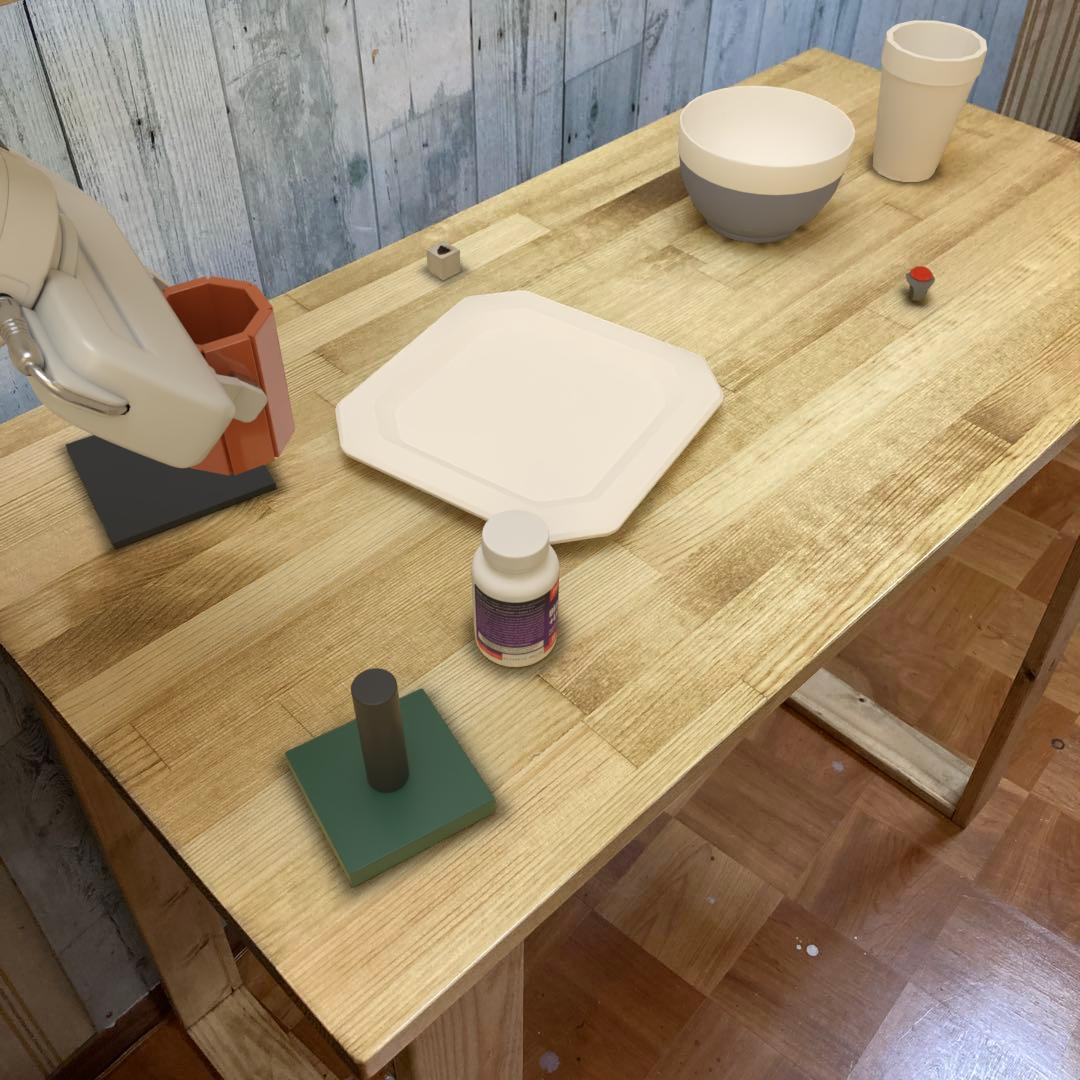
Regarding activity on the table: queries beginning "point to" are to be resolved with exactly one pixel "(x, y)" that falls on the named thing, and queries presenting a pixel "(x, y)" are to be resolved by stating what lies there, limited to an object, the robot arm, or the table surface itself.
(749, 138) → the bowl
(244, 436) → the orange hollow octagonal tube
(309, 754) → the post stand
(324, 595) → the table surface
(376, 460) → the plate
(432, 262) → the cube with dark pebbles
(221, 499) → the mat
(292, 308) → the table surface
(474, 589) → the pill bottle
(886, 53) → the foam cup
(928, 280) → the ring
